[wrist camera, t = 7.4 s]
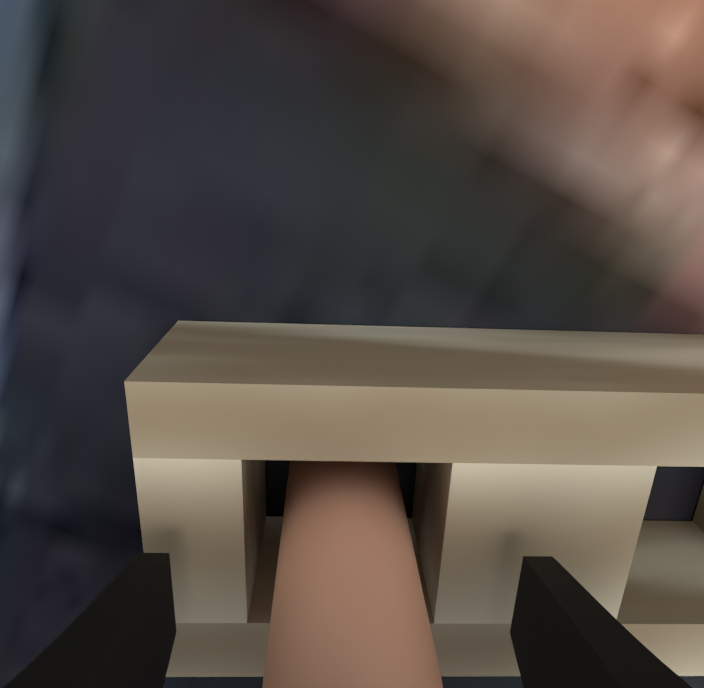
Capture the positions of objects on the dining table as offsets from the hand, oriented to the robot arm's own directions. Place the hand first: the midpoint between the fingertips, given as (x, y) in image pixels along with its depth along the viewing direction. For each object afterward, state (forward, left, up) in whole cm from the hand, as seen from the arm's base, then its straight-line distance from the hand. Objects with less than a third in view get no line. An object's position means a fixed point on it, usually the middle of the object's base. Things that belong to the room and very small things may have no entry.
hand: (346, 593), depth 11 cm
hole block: (0, -4, -5) cm, 7 cm away
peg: (0, 0, -5) cm, 5 cm away
